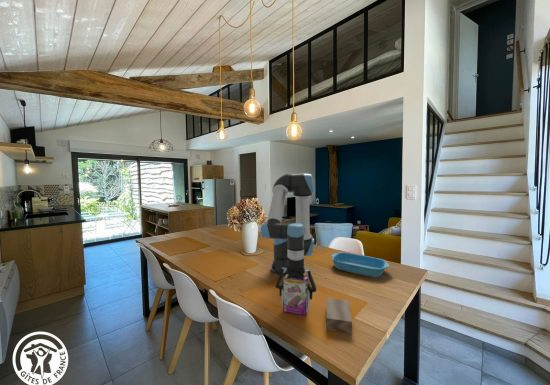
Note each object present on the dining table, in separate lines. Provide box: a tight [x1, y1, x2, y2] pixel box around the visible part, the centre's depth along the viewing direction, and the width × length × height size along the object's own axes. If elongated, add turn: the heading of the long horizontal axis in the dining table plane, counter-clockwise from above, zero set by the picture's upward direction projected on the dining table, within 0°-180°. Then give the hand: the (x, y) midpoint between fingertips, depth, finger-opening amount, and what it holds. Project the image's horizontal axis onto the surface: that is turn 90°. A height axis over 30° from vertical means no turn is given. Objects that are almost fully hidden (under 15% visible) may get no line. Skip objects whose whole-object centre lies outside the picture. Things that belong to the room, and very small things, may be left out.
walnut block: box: [325, 297, 353, 335], centre depth 101 cm, size 10×16×5 cm, turn 166°
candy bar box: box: [282, 274, 310, 317], centre depth 107 cm, size 11×5×16 cm, turn 71°
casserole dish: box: [331, 251, 390, 278], centre depth 156 cm, size 37×22×7 cm, turn 57°
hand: (295, 303), depth 108 cm, fingers closed on candy bar box, 11 cm apart
